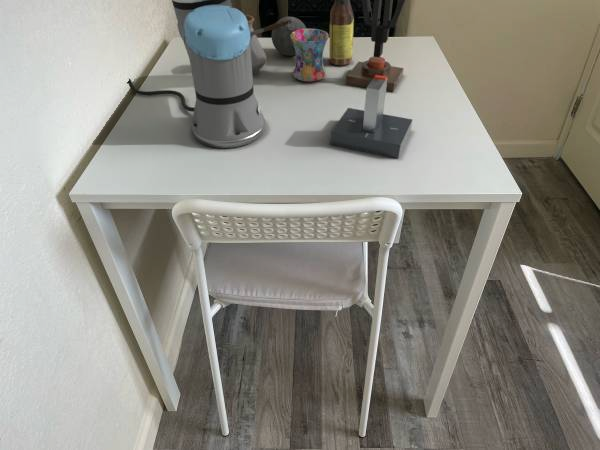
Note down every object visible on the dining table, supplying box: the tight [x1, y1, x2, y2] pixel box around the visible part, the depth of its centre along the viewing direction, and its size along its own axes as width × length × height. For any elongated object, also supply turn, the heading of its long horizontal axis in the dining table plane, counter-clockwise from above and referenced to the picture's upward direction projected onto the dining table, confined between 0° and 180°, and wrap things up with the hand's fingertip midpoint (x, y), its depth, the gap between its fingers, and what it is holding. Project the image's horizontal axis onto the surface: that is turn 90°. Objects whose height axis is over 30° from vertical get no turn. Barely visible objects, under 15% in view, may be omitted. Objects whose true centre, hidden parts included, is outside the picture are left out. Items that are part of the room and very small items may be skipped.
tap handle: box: [363, 75, 388, 133], centre depth 89 cm, size 6×2×9 cm, turn 157°
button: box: [368, 56, 386, 69], centre depth 113 cm, size 4×4×2 cm
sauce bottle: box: [329, 0, 355, 66], centre depth 118 cm, size 6×6×20 cm
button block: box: [345, 59, 404, 93], centre depth 115 cm, size 12×10×4 cm
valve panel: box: [330, 107, 413, 159], centre depth 93 cm, size 14×11×3 cm
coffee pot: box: [244, 14, 295, 75], centre depth 115 cm, size 21×12×15 cm, turn 56°
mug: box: [290, 28, 330, 82], centre depth 115 cm, size 12×9×11 cm
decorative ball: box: [271, 16, 307, 57], centre depth 126 cm, size 10×10×10 cm
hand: (377, 55), depth 112 cm, fingers closed
